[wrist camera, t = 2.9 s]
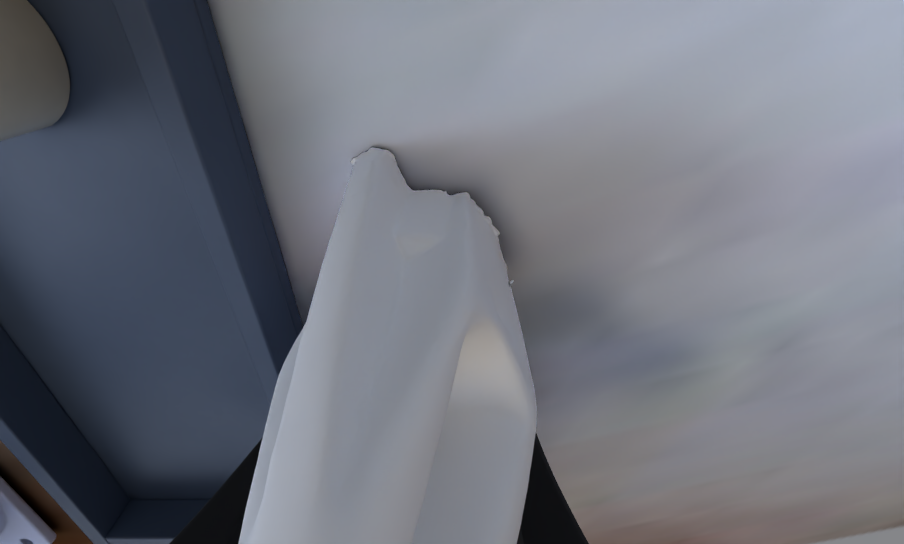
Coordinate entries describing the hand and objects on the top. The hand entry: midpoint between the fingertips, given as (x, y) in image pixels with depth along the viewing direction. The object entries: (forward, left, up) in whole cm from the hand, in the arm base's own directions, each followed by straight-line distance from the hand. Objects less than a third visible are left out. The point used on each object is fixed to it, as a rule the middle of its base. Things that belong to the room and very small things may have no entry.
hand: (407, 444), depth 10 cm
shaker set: (0, 0, -4) cm, 4 cm away
